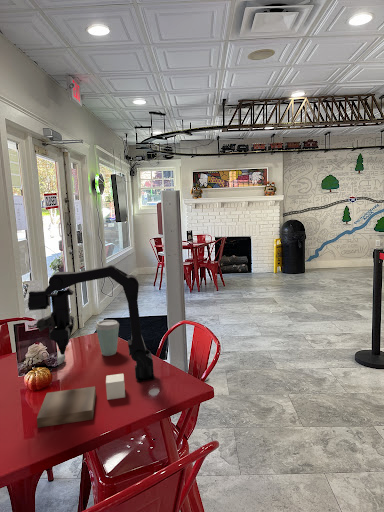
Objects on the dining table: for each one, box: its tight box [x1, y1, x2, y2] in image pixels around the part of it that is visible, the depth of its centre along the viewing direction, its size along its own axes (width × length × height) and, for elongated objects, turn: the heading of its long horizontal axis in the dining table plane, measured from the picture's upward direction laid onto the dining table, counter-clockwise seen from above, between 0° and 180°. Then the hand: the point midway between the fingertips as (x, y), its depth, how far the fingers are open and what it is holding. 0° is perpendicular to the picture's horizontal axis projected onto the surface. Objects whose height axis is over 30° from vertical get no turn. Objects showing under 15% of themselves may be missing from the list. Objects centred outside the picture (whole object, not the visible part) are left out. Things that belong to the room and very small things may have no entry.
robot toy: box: [57, 350, 66, 366], centre depth 153 cm, size 12×4×15 cm
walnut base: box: [36, 386, 97, 428], centre depth 116 cm, size 16×16×3 cm
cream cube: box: [105, 373, 126, 400], centre depth 125 cm, size 6×6×6 cm
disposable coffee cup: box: [94, 319, 120, 357], centre depth 163 cm, size 11×11×15 cm
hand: (64, 349), depth 130 cm, fingers open, 9 cm apart
